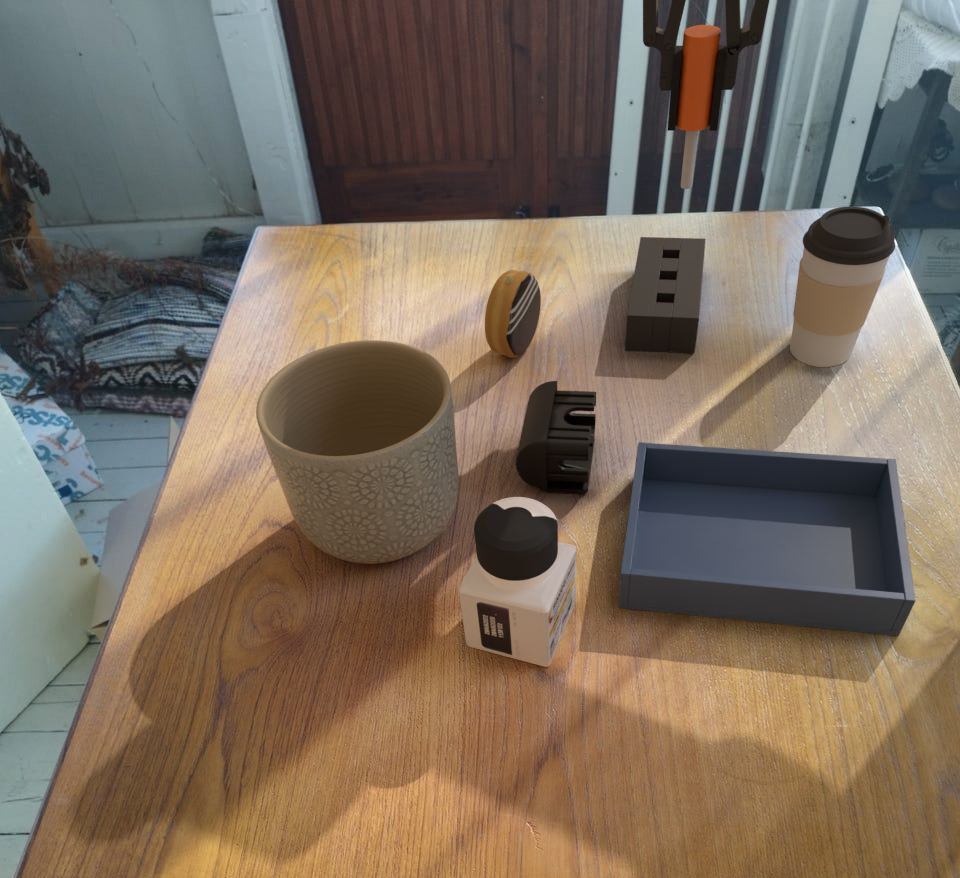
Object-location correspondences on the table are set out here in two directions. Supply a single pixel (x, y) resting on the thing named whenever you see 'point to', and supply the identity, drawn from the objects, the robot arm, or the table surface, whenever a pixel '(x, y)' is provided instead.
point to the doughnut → (512, 313)
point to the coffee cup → (838, 282)
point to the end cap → (557, 440)
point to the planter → (364, 447)
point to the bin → (768, 538)
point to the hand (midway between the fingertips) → (692, 124)
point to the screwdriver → (696, 90)
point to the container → (518, 582)
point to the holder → (666, 295)
